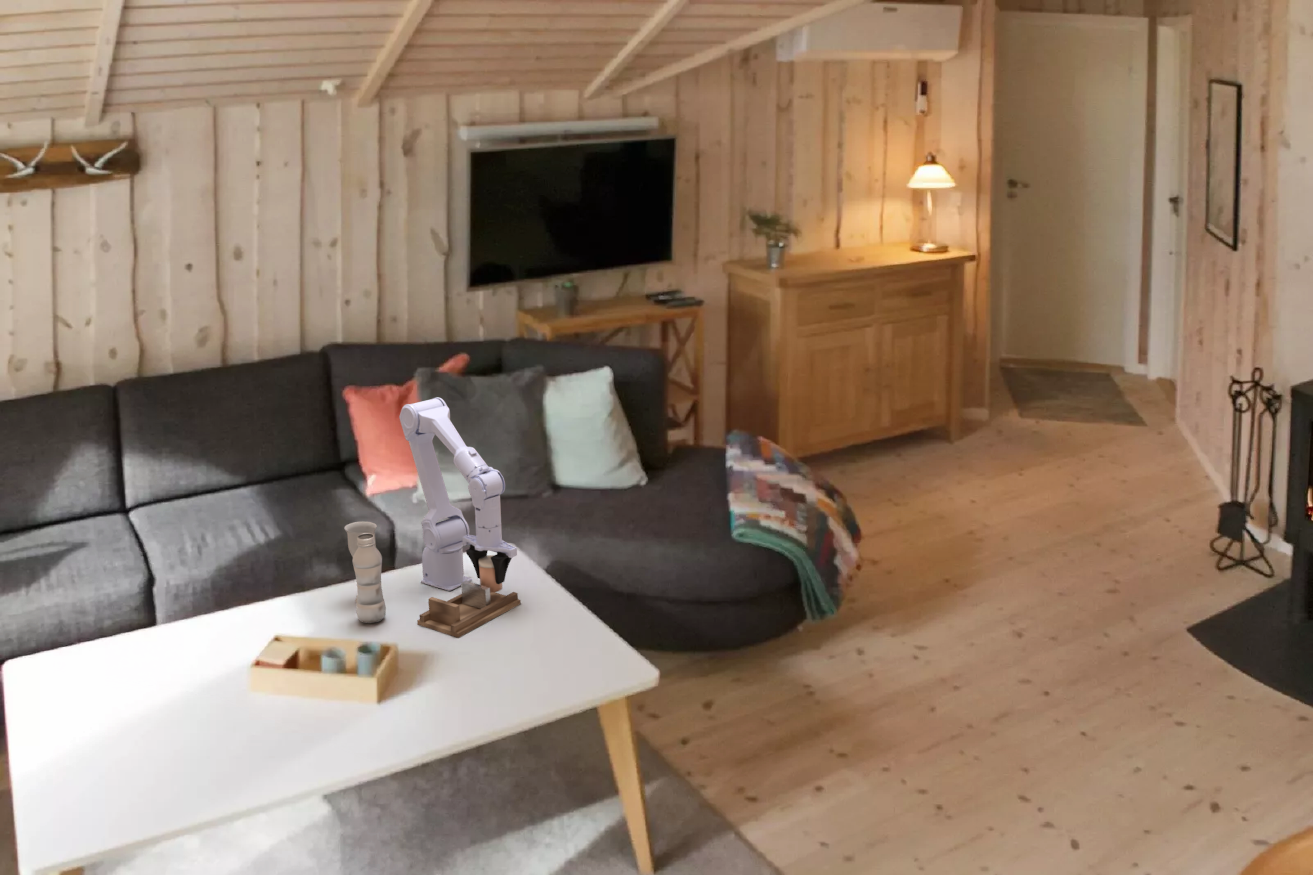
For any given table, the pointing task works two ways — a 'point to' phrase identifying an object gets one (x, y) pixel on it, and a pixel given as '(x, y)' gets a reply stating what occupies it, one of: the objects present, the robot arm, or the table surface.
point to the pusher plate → (475, 594)
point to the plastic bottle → (368, 580)
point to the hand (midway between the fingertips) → (491, 579)
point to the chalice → (355, 531)
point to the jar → (488, 574)
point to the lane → (464, 613)
